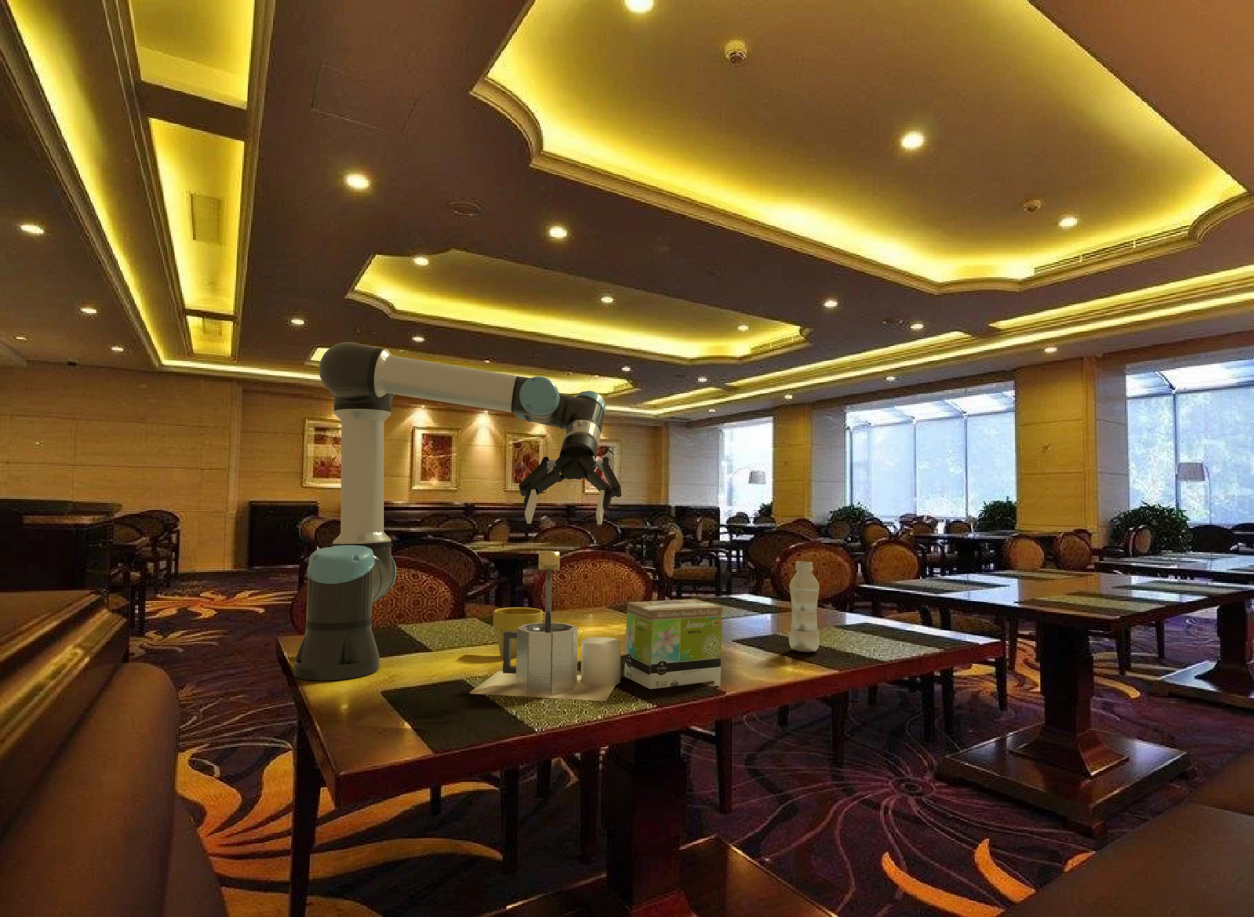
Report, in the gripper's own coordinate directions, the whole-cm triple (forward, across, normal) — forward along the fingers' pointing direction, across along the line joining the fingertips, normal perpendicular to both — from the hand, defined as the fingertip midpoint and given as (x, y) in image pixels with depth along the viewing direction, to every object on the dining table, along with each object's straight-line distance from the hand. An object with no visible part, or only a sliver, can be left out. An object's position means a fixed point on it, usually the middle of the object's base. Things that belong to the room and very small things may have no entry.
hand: (562, 519), depth 128 cm
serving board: (+26, 0, +16) cm, 31 cm away
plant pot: (+10, -13, +33) cm, 36 cm away
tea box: (+20, +21, +22) cm, 37 cm away
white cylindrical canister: (+23, +8, +17) cm, 30 cm away
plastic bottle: (-3, +48, +45) cm, 66 cm away
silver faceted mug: (+26, -2, +14) cm, 30 cm away
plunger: (+21, 0, +8) cm, 22 cm away
